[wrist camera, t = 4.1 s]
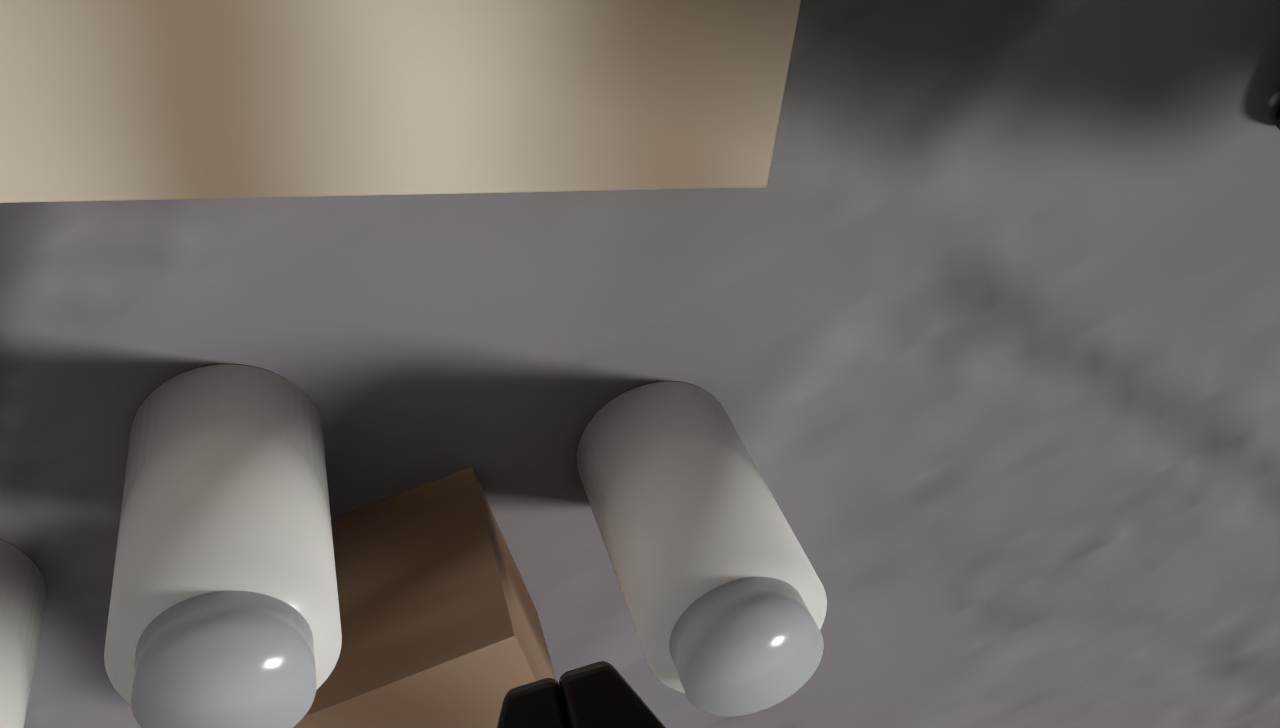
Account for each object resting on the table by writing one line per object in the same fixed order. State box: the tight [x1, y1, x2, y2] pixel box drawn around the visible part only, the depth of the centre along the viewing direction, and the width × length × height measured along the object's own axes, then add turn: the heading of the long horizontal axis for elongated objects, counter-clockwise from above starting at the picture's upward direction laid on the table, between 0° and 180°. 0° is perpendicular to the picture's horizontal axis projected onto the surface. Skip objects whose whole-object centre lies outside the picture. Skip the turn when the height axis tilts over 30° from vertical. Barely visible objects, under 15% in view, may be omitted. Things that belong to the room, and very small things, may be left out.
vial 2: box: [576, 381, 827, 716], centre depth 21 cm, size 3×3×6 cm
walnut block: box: [293, 467, 556, 728], centre depth 22 cm, size 4×4×4 cm
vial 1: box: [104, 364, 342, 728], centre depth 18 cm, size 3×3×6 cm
